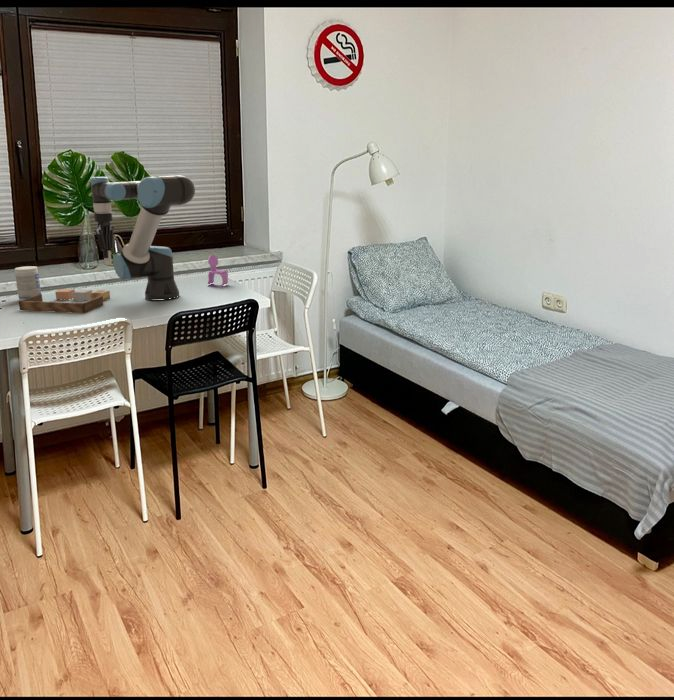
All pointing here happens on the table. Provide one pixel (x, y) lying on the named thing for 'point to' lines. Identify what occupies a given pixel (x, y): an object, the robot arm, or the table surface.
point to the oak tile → (100, 294)
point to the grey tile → (81, 294)
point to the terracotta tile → (65, 294)
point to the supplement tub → (27, 282)
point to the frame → (59, 305)
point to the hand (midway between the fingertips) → (108, 264)
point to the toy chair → (213, 263)
